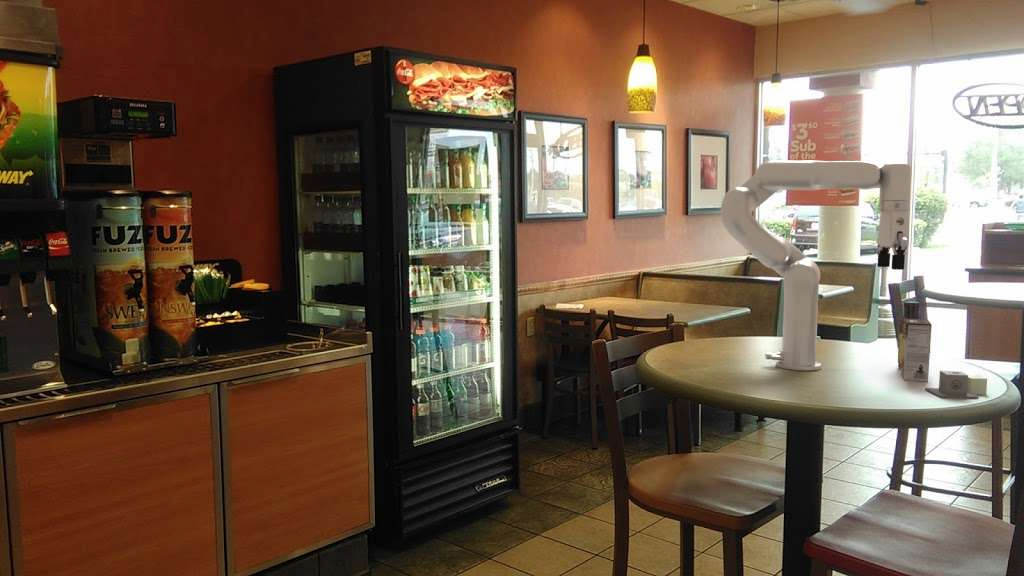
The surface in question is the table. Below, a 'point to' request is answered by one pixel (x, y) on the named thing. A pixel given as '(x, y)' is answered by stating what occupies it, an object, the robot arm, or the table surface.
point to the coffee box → (916, 349)
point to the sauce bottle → (909, 313)
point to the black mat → (942, 395)
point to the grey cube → (953, 382)
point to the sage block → (976, 384)
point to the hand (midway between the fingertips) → (890, 268)
